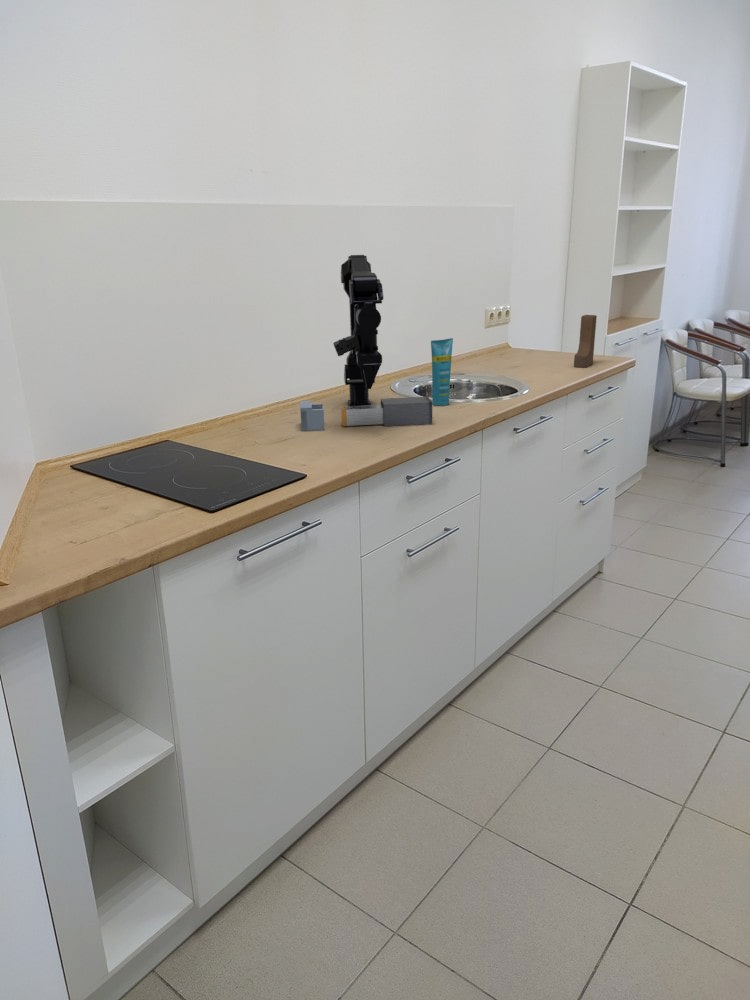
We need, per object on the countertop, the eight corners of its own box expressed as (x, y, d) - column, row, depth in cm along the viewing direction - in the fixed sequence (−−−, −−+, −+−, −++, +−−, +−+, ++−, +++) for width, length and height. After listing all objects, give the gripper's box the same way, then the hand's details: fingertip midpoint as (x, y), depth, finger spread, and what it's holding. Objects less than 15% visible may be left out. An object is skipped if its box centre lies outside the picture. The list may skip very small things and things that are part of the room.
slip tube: (341, 422, 200) (340, 406, 198) (421, 418, 202) (421, 402, 201) (342, 426, 196) (341, 409, 195) (423, 422, 198) (424, 405, 197)
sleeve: (381, 420, 203) (380, 398, 200) (427, 417, 204) (427, 396, 202) (384, 426, 196) (383, 404, 194) (432, 424, 197) (432, 402, 195)
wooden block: (585, 368, 268) (589, 317, 262) (573, 367, 271) (576, 317, 264) (593, 364, 275) (597, 315, 269) (581, 363, 278) (584, 314, 271)
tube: (436, 407, 215) (436, 341, 209) (426, 404, 219) (426, 339, 212) (455, 403, 219) (457, 338, 212) (445, 401, 223) (446, 336, 216)
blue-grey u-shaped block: (301, 423, 201) (299, 401, 199) (323, 422, 201) (322, 400, 199) (301, 431, 193) (300, 407, 191) (324, 429, 194) (323, 406, 192)
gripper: (332, 322, 198) (334, 379, 203) (336, 331, 180) (339, 394, 186) (373, 320, 199) (374, 378, 204) (381, 330, 181) (382, 392, 187)
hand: (367, 385), depth 195 cm, fingers open, 9 cm apart
